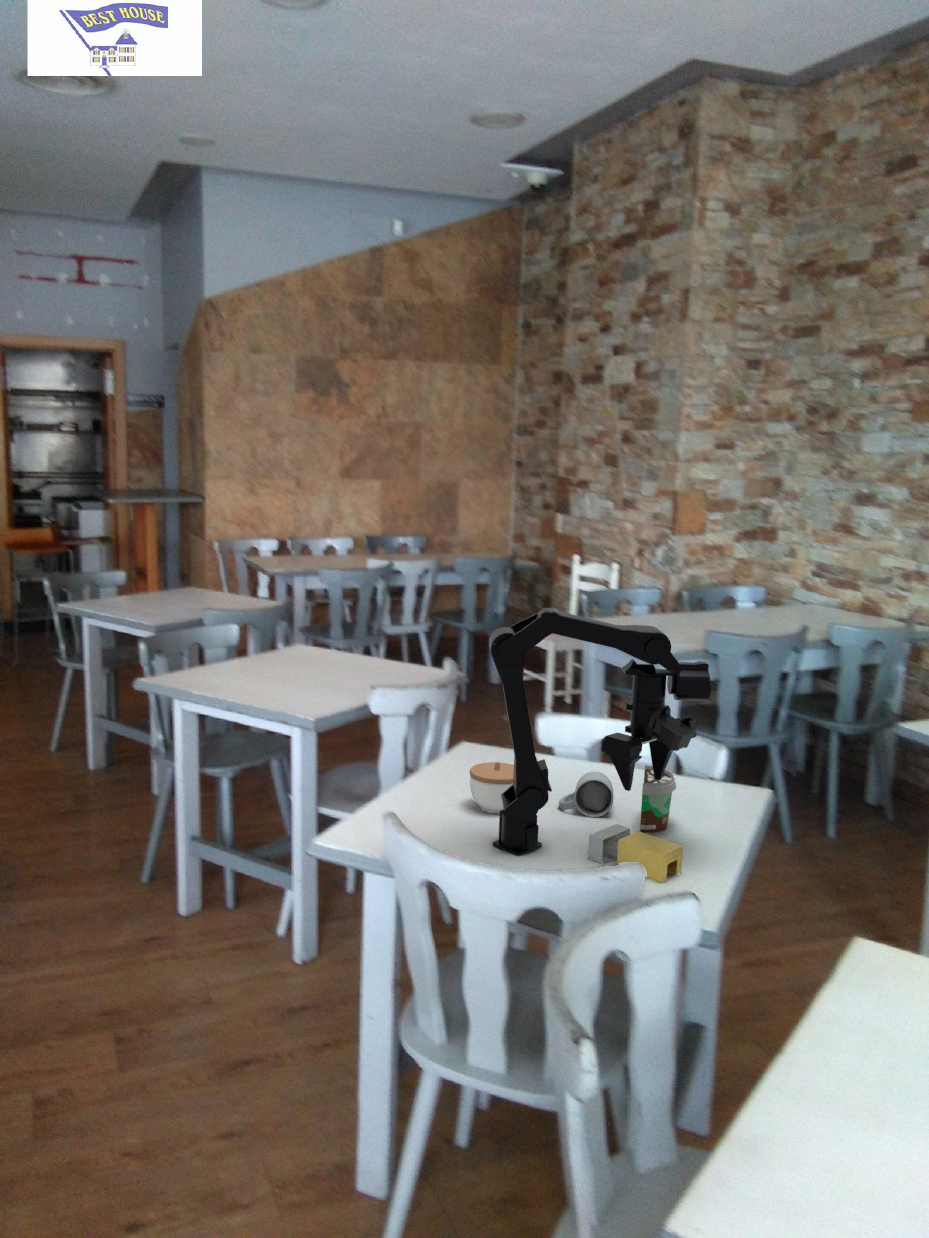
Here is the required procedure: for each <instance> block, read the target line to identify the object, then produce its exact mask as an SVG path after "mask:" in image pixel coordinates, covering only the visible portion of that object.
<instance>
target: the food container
mask: <svg viewBox="0 0 929 1238" xmlns="http://www.w3.org/2000/svg"><path fill="white" fill-rule="evenodd" d="M643 774H644V775H643V782H642V789H641V792H642V793H641V808H640V812H641V813H640V823H639V825H640V826H639V831H640V832H643V833H646V834H657V833H661V832H663V831H666V830H667V828H668V824H669V823H668V822H669V817H670V811H671V803H672V802H671V801H672V796H673V795H672V794H673V792H674V791H675V790H676V789H677V783H676V779H675V777H674V774H673V773H672V772H671V771H669V770H667V769H665V771H664V774H663V776H662V779H661V780H657V779H655V776H654V772H653V766H652V765H647V764H646V765H644V773H643Z"/></svg>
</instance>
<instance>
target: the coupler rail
mask: <svg viewBox="0 0 929 1238" xmlns="http://www.w3.org/2000/svg"><path fill="white" fill-rule="evenodd" d="M628 835H631V828H630V827H628V826H623V825H621V824H618V823H615V824H613V825H610V826H608V827H606V828H603V829H600V830H598V831H595V832H592V833H591V834H589V835H588V851H587V853H588V854H587V859H588V860H590V861H593V862H596V863H598V864H601V865H603V864H605V863H607V862H610V861H612V860H614V861H616V862H617V855H618V840H619V839H621V838H624V837H626V836H628Z"/></svg>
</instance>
